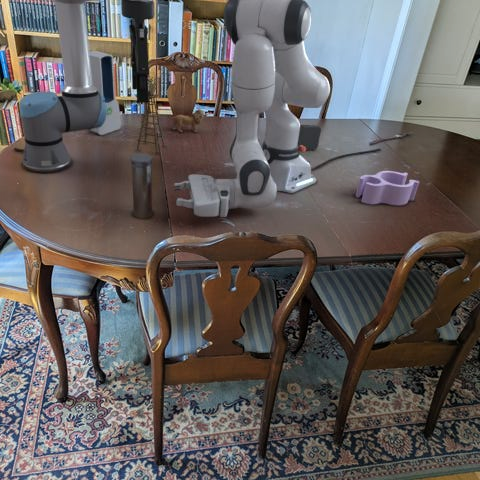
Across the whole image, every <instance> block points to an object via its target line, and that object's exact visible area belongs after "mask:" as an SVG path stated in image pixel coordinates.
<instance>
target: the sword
mask: <svg viewBox="0 0 480 480" xmlns="http://www.w3.org/2000/svg"><path fill="white" fill-rule="evenodd" d="M402 134H403V133H398V134H396V135H393V136H392V135H391V136H388V137H383V138H379V139H376V140H373V141H370V145H374V144H377V143H380V142H383V141H387V140H391V139H397V138H404V137H405V136H411V135H413V134H408V135H402Z"/></svg>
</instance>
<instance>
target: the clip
mask: <svg viewBox="0 0 480 480" xmlns="http://www.w3.org/2000/svg"><path fill="white" fill-rule="evenodd" d="M408 175H409V174H408V172H399V171H394V170H382V171H378V172H377V173H376V174H363V175H361V176H360V177H359V181H358V185H357V188H356V192H355V197H356V198H360V197H361V196H362V198H361V200H360V202H361V203H362V204H367V205H378V204H387V205H390V206H403V205H404V206H405V205H406V204H408V202H409V201H412V202H413V201H414V200H415V197H416V193H417V191H418V187H419V185H420V181H419V180H414V179H409V180H408V183H407V184H406V182H407V177H408Z"/></svg>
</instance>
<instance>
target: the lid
mask: <svg viewBox="0 0 480 480" xmlns="http://www.w3.org/2000/svg"><path fill="white" fill-rule="evenodd" d="M130 164H131V166H132V165H134V166H137V167H147V166H150V165H152V166H153V156H152V155H151V154H149V153H143V152H140V153H139V152H138V153H134V154H132V155H131V156H130Z"/></svg>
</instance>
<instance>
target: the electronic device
mask: <svg viewBox="0 0 480 480" xmlns="http://www.w3.org/2000/svg"><path fill="white" fill-rule="evenodd" d="M89 53H90V62H91V72H92V82H93V85H94V86H96V87H97V88H98V92H99V93H101V94H102V95H103V96H104V99H105V103H106V109H107V112H106V119H105V122H104V124H103V125H102V126H101V127H99V128H94V129H91V130H88V131H89V132H91V133H94V134H96V135H99V136H104V135H106V134H110V133H112V132H115V131H118V130H120V129H121V127H122V122H121V121H122V120H121V115H120V105H119V104H120V103H119V101H118V100H117V98H116V89H115V71H114V56H113V55H112V54H110V53H106V52H102V51H98V50H92V51H89Z"/></svg>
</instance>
